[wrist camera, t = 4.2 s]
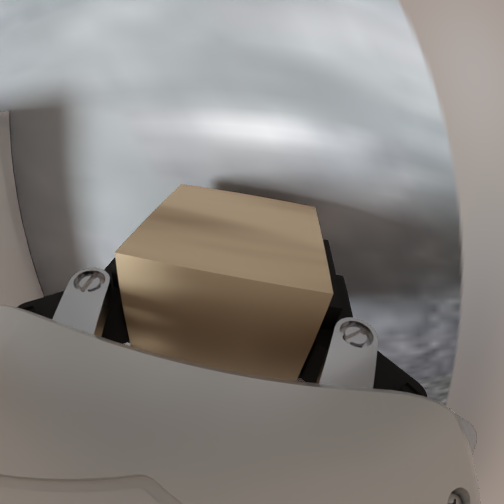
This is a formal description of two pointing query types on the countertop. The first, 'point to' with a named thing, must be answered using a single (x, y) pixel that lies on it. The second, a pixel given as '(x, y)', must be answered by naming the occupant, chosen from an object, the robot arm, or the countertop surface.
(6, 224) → the tote
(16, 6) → the countertop surface
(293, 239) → the wood cube
